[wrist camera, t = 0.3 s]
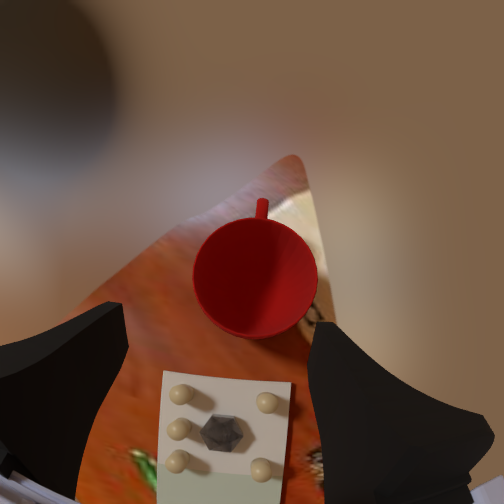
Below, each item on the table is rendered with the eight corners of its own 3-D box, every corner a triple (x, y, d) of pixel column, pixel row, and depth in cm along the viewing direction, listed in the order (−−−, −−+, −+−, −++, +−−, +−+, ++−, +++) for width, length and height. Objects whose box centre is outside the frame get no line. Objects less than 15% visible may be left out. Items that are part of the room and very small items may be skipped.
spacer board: (277, 514, 28) (280, 528, 24) (158, 502, 28) (150, 514, 24) (289, 382, 36) (295, 383, 32) (165, 370, 36) (155, 370, 32)
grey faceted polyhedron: (248, 441, 32) (248, 445, 30) (215, 454, 31) (213, 458, 29) (229, 406, 34) (228, 408, 32) (196, 420, 33) (194, 422, 31)
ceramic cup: (304, 231, 44) (319, 194, 35) (297, 349, 38) (315, 343, 28) (215, 221, 44) (209, 182, 35) (197, 338, 38) (182, 329, 28)
